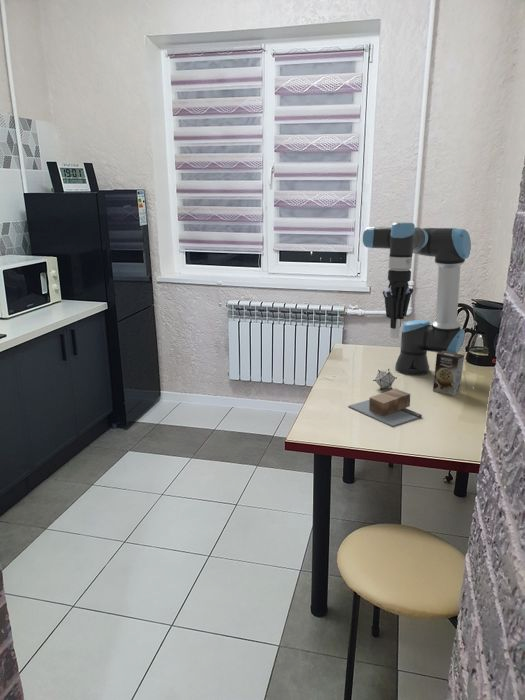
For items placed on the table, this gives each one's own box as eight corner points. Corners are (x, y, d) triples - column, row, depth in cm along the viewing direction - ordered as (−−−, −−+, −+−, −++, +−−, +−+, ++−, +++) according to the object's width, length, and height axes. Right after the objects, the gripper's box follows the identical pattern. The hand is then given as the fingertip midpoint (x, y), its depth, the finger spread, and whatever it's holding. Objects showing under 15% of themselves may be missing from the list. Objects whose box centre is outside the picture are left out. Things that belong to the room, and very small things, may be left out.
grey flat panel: (376, 398, 202) (376, 396, 202) (421, 417, 184) (421, 414, 184) (348, 406, 194) (348, 404, 194) (392, 426, 176) (392, 424, 176)
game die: (387, 397, 214) (397, 384, 206) (368, 389, 214) (377, 375, 207) (392, 382, 219) (401, 368, 212) (373, 374, 220) (382, 360, 212)
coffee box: (432, 391, 211) (435, 353, 207) (439, 387, 216) (442, 350, 211) (453, 396, 205) (458, 357, 201) (460, 392, 210) (464, 354, 205)
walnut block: (395, 388, 196) (369, 397, 188) (410, 393, 190) (383, 403, 183) (395, 400, 197) (369, 410, 190) (409, 406, 191) (383, 416, 184)
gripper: (395, 271, 168) (389, 341, 174) (421, 269, 175) (415, 336, 181) (378, 269, 174) (373, 337, 180) (404, 267, 181) (399, 332, 187)
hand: (394, 337), depth 180 cm, fingers closed
